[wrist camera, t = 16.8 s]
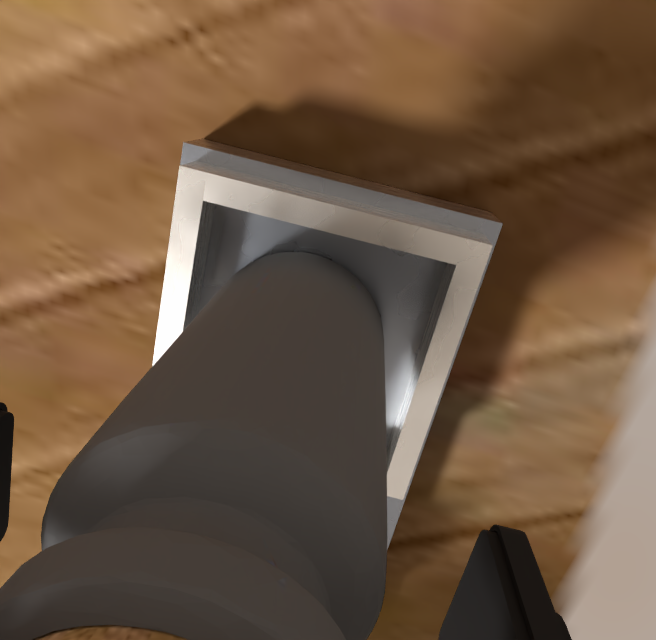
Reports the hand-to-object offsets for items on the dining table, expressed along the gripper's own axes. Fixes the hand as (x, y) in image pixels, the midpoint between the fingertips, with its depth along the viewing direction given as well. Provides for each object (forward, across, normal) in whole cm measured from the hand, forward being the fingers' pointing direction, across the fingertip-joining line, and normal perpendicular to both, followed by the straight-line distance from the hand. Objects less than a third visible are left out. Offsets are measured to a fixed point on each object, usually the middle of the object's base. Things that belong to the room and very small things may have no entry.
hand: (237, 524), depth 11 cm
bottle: (+9, 0, -1) cm, 9 cm away
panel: (+11, 0, +4) cm, 11 cm away
